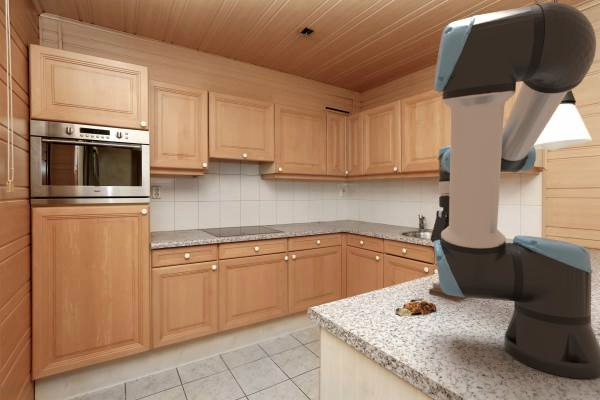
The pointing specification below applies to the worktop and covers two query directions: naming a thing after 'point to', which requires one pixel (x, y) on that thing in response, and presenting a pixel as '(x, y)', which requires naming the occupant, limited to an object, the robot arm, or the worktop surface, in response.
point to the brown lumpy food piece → (416, 307)
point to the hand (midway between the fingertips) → (452, 261)
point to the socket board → (438, 292)
